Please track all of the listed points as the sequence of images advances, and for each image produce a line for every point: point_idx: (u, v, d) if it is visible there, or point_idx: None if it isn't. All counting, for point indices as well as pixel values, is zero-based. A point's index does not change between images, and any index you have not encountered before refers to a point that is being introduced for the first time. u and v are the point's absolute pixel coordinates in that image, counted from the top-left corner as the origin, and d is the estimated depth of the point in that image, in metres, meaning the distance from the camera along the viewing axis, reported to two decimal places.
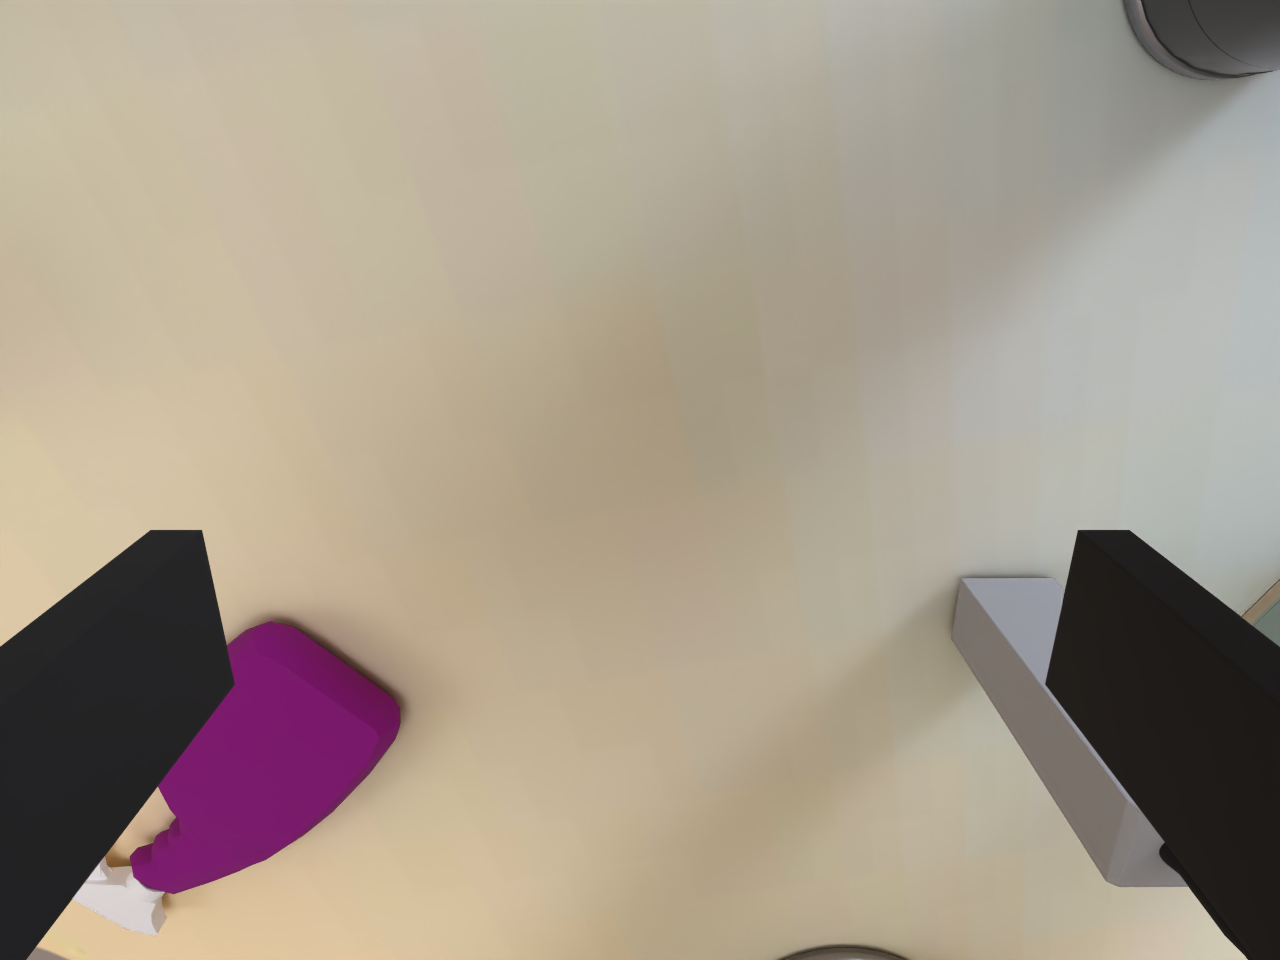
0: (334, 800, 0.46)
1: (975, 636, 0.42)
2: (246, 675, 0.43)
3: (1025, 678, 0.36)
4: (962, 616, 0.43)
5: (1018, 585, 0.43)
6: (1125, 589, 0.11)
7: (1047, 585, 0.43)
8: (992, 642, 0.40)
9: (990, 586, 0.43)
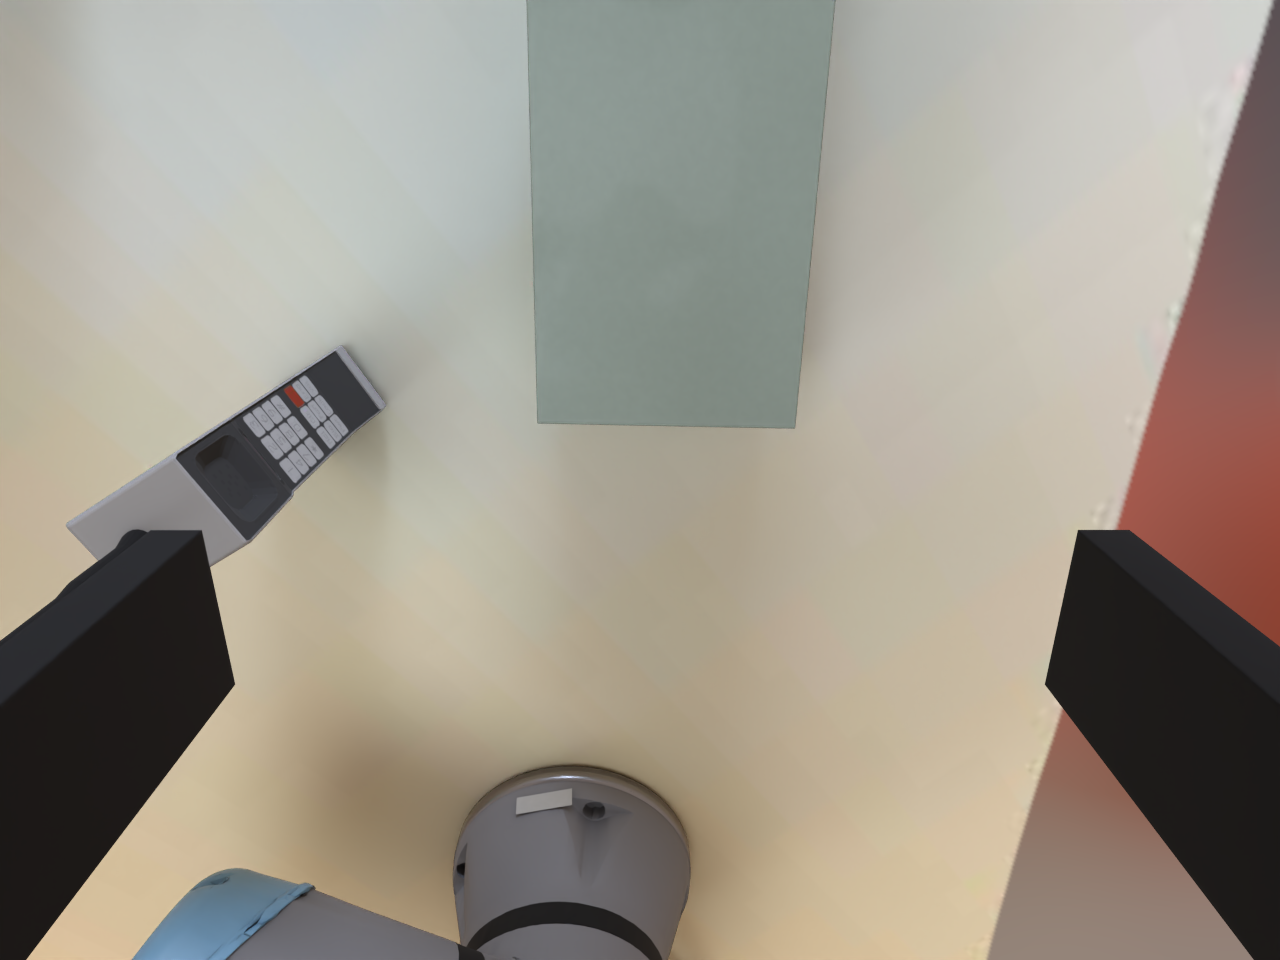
0: None
1: None
2: None
3: None
4: None
5: None
6: (1125, 589, 0.11)
7: None
8: None
9: None
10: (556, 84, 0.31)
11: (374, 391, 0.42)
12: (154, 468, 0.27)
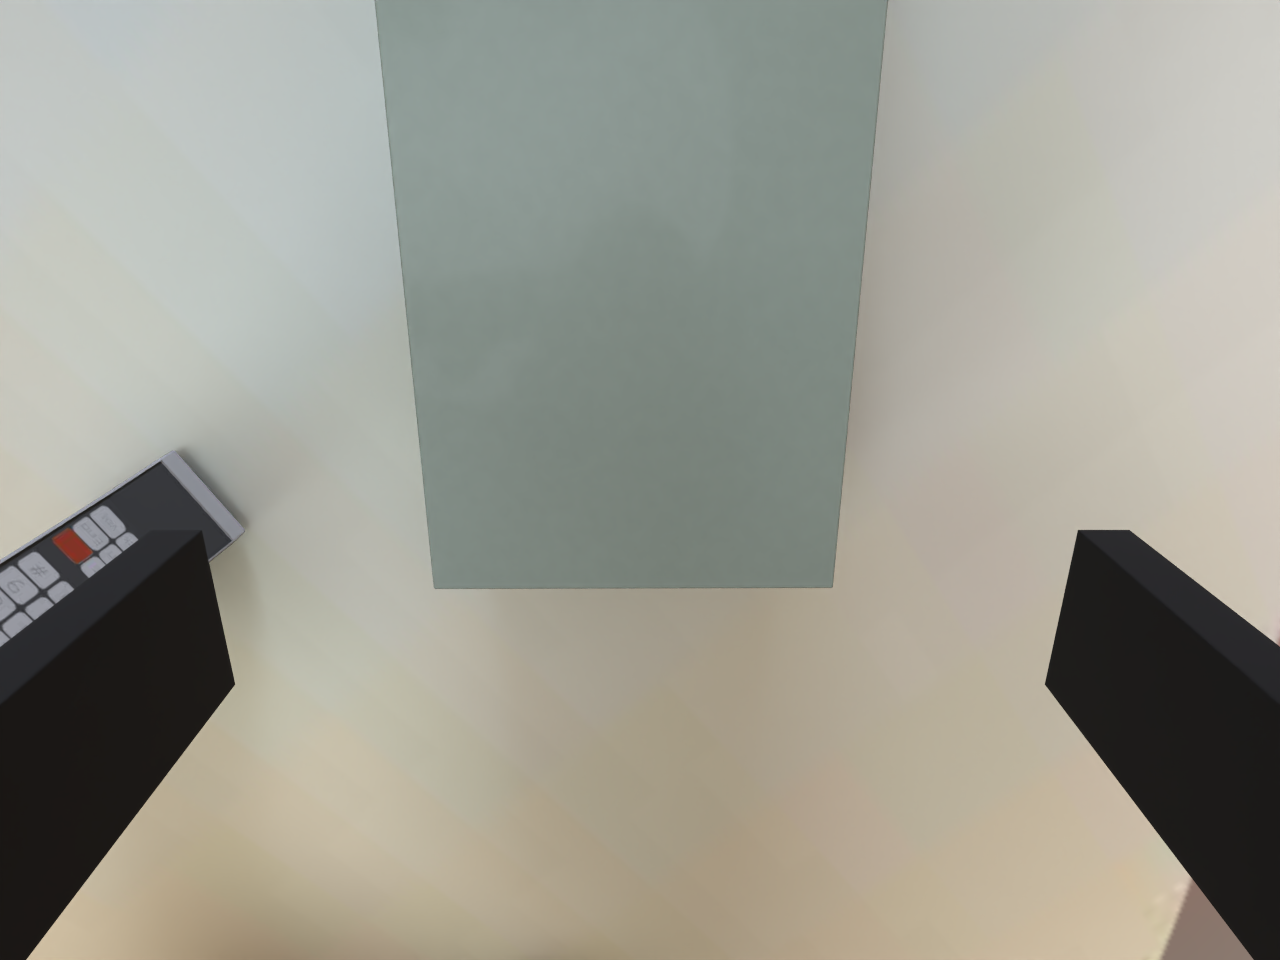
0: None
1: None
2: None
3: None
4: None
5: None
6: (1125, 589, 0.11)
7: None
8: None
9: None
10: (427, 58, 0.18)
11: (225, 512, 0.30)
12: None
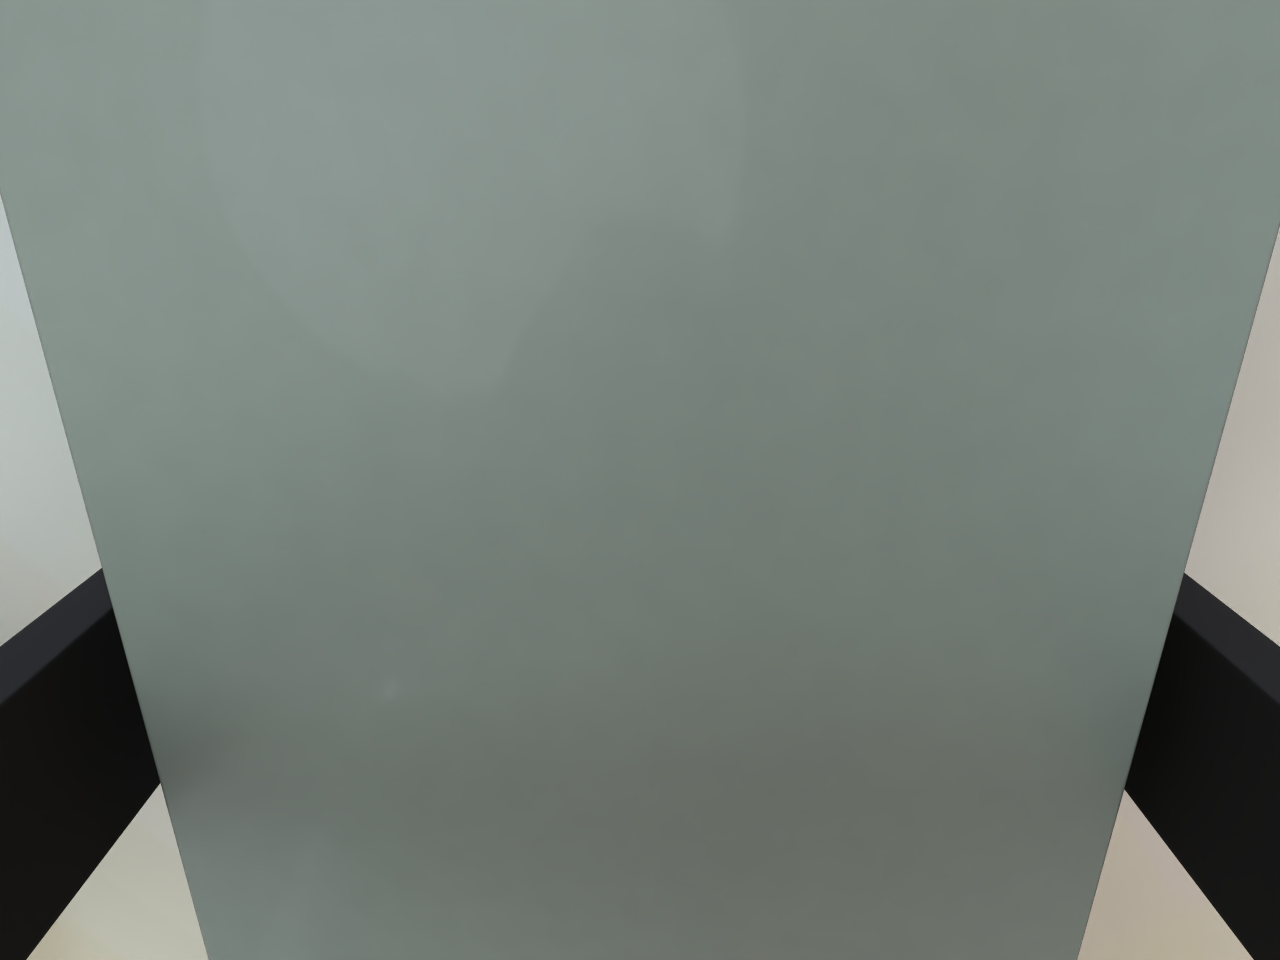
0: None
1: None
2: None
3: None
4: None
5: None
6: None
7: None
8: None
9: None
10: None
11: None
12: None
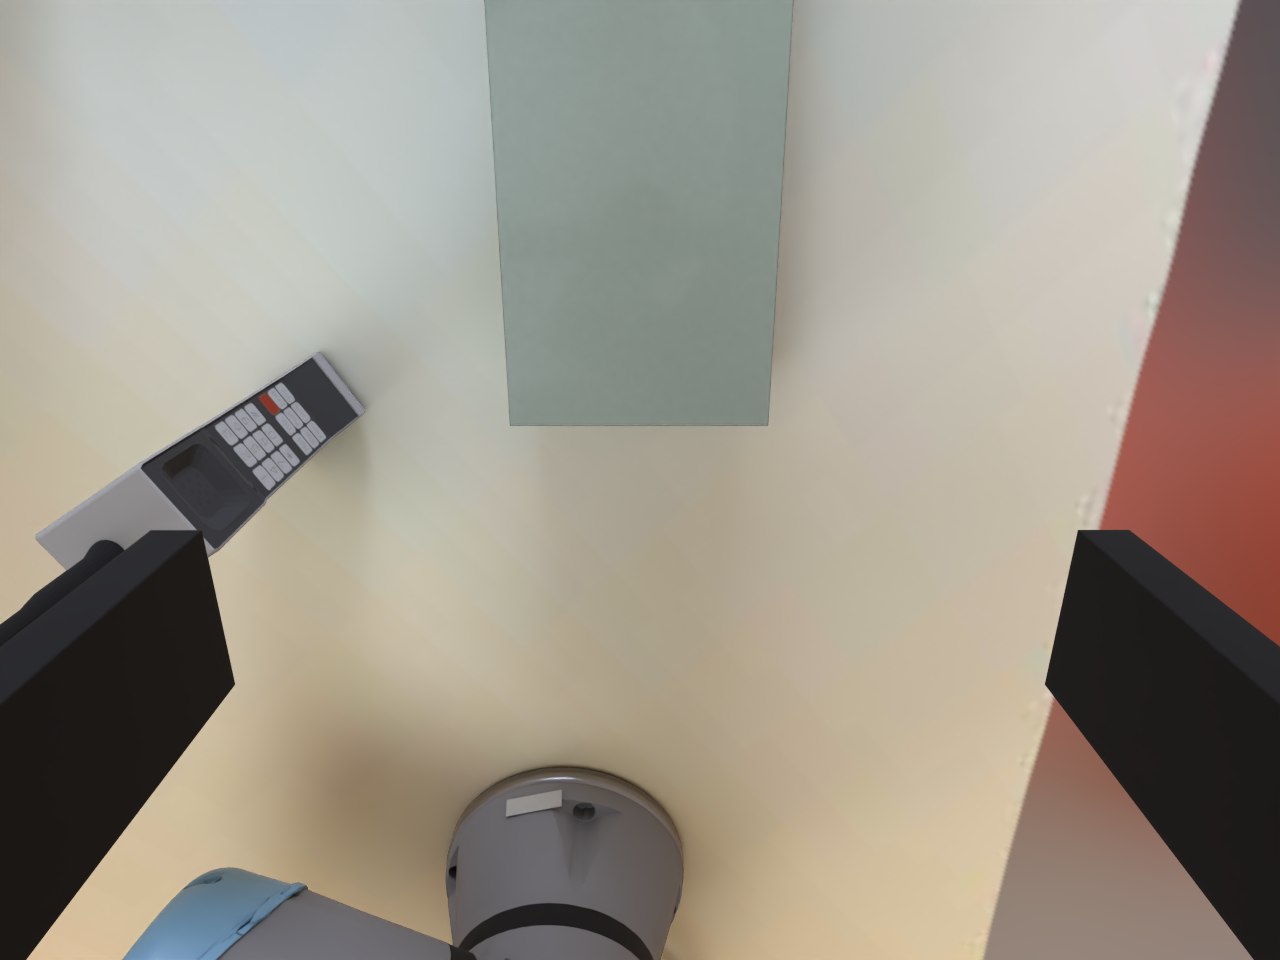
0: None
1: None
2: None
3: None
4: None
5: None
6: (1125, 589, 0.11)
7: None
8: None
9: None
10: (517, 86, 0.31)
11: (353, 397, 0.43)
12: (120, 478, 0.27)
